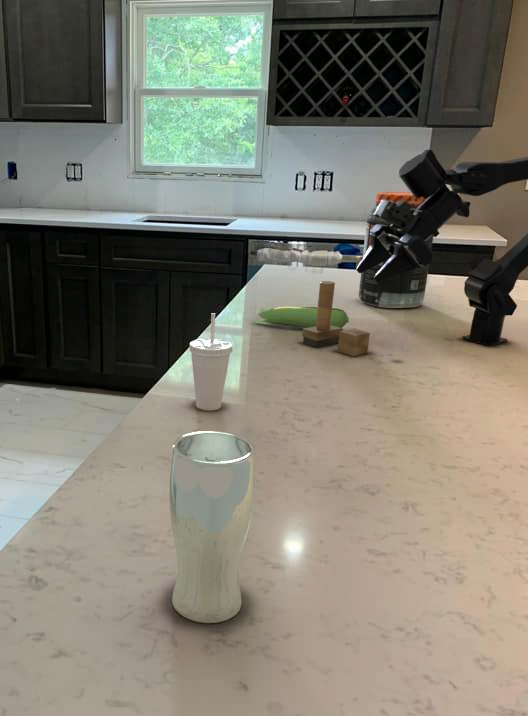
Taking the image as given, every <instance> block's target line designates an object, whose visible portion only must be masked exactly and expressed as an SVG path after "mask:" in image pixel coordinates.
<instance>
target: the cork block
mask: <svg viewBox="0 0 528 716" xmlns="http://www.w3.org/2000/svg"><path fill="white" fill-rule="evenodd" d="M370 336H371V333H370V332H368V331H365V330H361V329H357V328H350V329H349V328H348V329H344V330H342V331H340V334H339V343H337V353H341V354H344V355H347V356H351V357H357V356H361V355H367V354H368V351H369V345H370Z"/></svg>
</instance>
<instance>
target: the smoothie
mask: <svg viewBox="0 0 528 716" xmlns="http://www.w3.org/2000/svg"><path fill="white" fill-rule="evenodd" d="M215 328H216V313H215V312H214V313H213V312H212V313H211V317H210V335H209V336H210V338H198V339H194V340H192V341H190V342H189V348H188V351H189V352H190V353H191V364H192V373H193V374H192V375H193V385H194V397H195V398H194V399H195V405H196V406H195V407H196V408H197V409H198V410H203V411H216V410H219V409H221V407H222V401H223V396H224V390H225V385H226V379H227V373H228V367H229V363H230V357H231V354H232V353H233V351H234V350H233V343H232V342H231V341H228V340H225V339H221V338H220V339H219V338H215Z"/></svg>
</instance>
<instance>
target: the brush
mask: <svg viewBox="0 0 528 716" xmlns="http://www.w3.org/2000/svg"><path fill="white" fill-rule="evenodd" d="M335 285H336V283H335V282H334V281H331V280H322V281H320V282H319V289H318V291H319V292H318V298H317V299H318V300H317V307H318V308H317V318H316V326H314V327H309V328H303V327H302V337H303V341H302V344H303V345H306V346H311V347H314V348H320V347H326V346H330V345H334V344H338V343H339V334H340V331H343V327H342V328H340V327H336V326H333V325H330V323H331V314H332V308H333V305H334V295H335Z"/></svg>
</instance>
